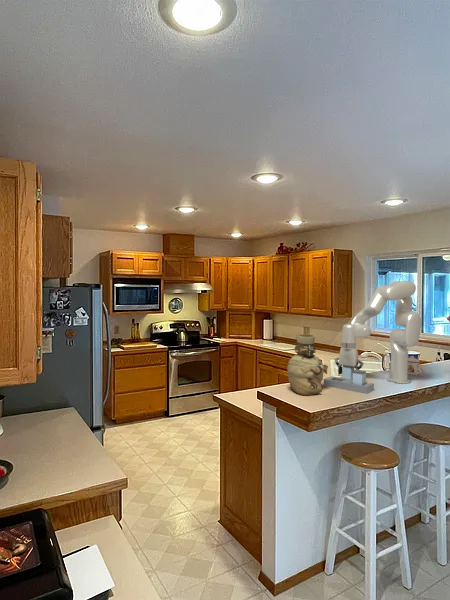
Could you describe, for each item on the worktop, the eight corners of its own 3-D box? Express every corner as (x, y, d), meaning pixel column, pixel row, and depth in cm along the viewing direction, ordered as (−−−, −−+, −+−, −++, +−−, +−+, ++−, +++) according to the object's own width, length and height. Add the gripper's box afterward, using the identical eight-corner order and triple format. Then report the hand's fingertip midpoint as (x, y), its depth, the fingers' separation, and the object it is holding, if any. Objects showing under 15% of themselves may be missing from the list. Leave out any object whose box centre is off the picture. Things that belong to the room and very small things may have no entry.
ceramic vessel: (327, 398, 199) (329, 338, 198) (285, 394, 205) (286, 336, 203) (327, 388, 218) (328, 334, 217) (288, 385, 223) (289, 332, 222)
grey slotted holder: (331, 384, 226) (332, 375, 226) (373, 392, 211) (374, 383, 210) (323, 388, 219) (323, 378, 219) (366, 396, 203) (366, 386, 203)
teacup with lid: (401, 373, 260) (401, 355, 260) (409, 371, 265) (409, 354, 265) (418, 376, 250) (419, 358, 250) (426, 375, 255) (427, 357, 255)
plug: (345, 381, 232) (346, 364, 232) (354, 382, 229) (354, 365, 229) (342, 382, 229) (342, 365, 228) (350, 384, 225) (351, 366, 225)
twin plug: (356, 388, 214) (356, 369, 214) (365, 389, 211) (366, 371, 211) (352, 389, 211) (353, 371, 210) (361, 391, 207) (362, 372, 207)
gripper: (332, 344, 231) (331, 373, 232) (361, 348, 220) (360, 378, 220) (337, 343, 237) (337, 371, 237) (366, 346, 225) (365, 376, 226)
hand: (348, 375), depth 229 cm, fingers open, 9 cm apart
